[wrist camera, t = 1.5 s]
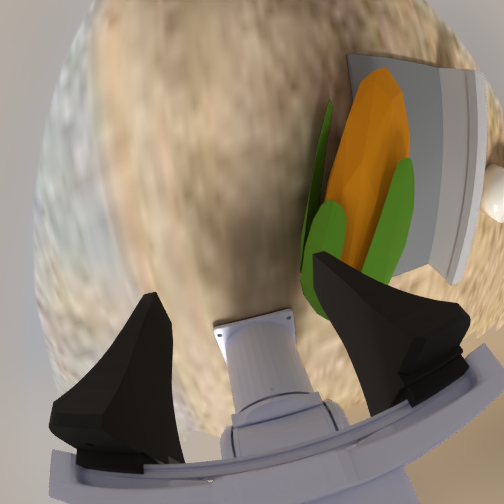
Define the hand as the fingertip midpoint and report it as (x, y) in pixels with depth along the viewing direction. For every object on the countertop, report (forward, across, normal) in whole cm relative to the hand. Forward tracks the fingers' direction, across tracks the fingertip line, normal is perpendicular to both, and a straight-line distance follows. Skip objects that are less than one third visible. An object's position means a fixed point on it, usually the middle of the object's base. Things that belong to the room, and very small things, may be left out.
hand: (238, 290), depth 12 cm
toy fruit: (+9, -10, 0) cm, 13 cm away
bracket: (+9, -18, 0) cm, 20 cm away
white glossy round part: (+10, -34, +3) cm, 36 cm away
